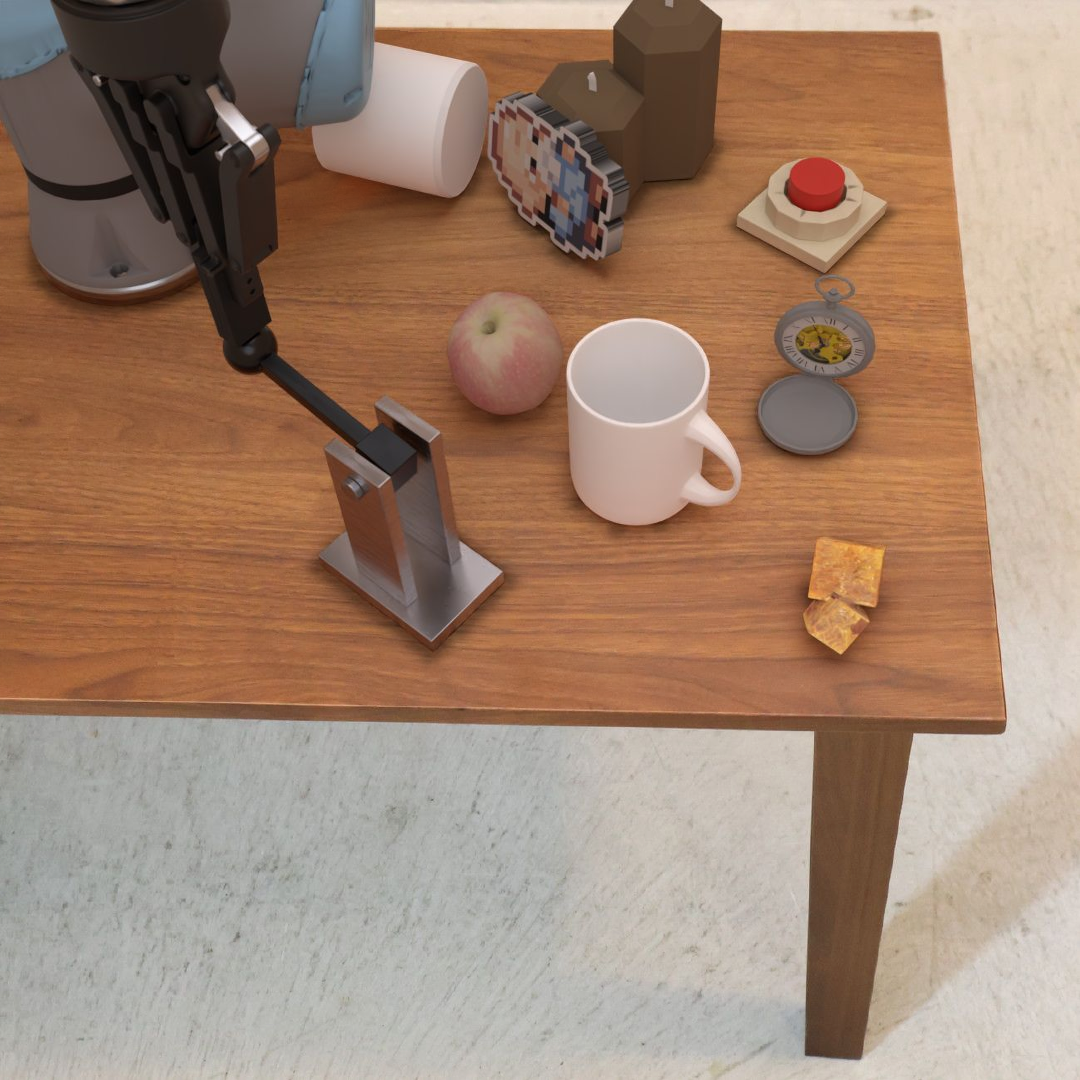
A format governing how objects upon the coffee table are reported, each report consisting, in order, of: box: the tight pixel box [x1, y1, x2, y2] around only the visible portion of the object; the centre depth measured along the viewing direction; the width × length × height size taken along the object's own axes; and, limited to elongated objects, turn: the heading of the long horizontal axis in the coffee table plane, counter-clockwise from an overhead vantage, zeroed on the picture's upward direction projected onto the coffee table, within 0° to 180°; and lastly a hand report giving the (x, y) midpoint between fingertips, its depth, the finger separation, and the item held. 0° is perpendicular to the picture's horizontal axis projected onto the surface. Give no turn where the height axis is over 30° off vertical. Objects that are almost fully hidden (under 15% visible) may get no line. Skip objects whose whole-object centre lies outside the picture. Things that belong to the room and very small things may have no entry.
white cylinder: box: [311, 41, 490, 199], centre depth 107 cm, size 13×10×10 cm
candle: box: [535, 0, 723, 207], centre depth 104 cm, size 14×14×15 cm
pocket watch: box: [757, 274, 877, 456], centre depth 91 cm, size 8×8×10 cm
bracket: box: [317, 394, 505, 652], centre depth 83 cm, size 10×7×14 cm, turn 49°
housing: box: [735, 157, 888, 274], centre depth 104 cm, size 8×8×3 cm
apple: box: [446, 291, 565, 416], centre depth 94 cm, size 8×8×8 cm
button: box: [788, 156, 845, 212], centre depth 102 cm, size 4×4×2 cm
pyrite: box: [802, 535, 888, 655], centre depth 84 cm, size 5×7×4 cm
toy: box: [487, 90, 629, 262], centre depth 102 cm, size 14×2×10 cm, turn 39°
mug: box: [565, 317, 743, 526], centre depth 87 cm, size 9×12×11 cm
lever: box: [222, 325, 417, 493], centre depth 80 cm, size 14×3×3 cm, turn 49°
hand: (245, 328), depth 80 cm, fingers closed
